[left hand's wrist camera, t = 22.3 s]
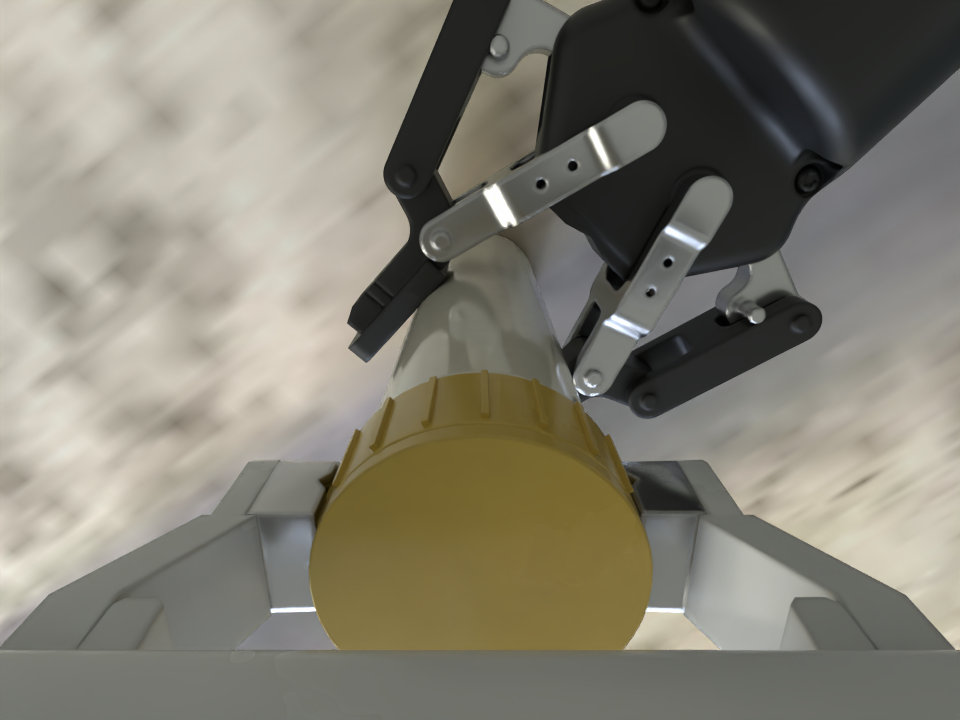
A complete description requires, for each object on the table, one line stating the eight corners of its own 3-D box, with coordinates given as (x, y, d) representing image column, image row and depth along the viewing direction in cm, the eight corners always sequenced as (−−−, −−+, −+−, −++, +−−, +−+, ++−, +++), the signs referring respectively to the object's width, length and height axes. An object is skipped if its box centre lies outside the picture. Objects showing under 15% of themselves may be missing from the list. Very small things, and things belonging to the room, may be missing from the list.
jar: (505, 212, 23) (553, 372, 8) (551, 307, 25) (668, 601, 9) (408, 262, 24) (279, 498, 9) (458, 352, 25) (424, 693, 10)
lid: (631, 595, 11) (664, 696, 9) (369, 624, 11) (346, 728, 9) (616, 349, 9) (653, 407, 7) (305, 389, 9) (260, 458, 8)
